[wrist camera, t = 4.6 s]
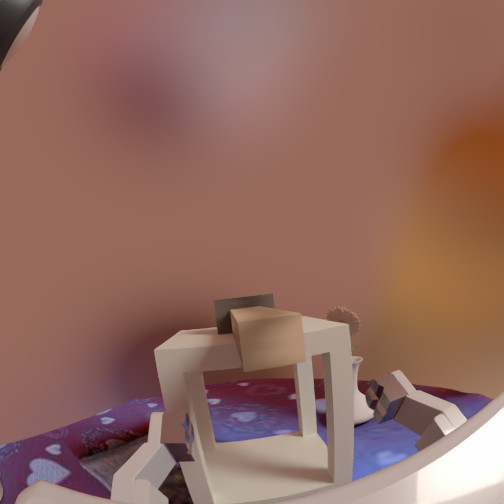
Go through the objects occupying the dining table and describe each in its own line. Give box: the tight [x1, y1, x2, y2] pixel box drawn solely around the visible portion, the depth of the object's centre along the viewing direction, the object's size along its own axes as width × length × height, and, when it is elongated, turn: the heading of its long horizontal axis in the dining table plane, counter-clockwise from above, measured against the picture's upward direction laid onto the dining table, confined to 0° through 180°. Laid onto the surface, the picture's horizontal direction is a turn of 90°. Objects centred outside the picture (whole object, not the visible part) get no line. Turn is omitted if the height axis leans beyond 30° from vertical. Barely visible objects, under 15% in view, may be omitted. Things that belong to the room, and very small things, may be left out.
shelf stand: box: [154, 316, 354, 504], centre depth 25 cm, size 16×14×26 cm
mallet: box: [214, 294, 306, 372], centre depth 21 cm, size 6×18×4 cm, turn 6°
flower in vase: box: [327, 306, 374, 425], centre depth 49 cm, size 13×11×25 cm
